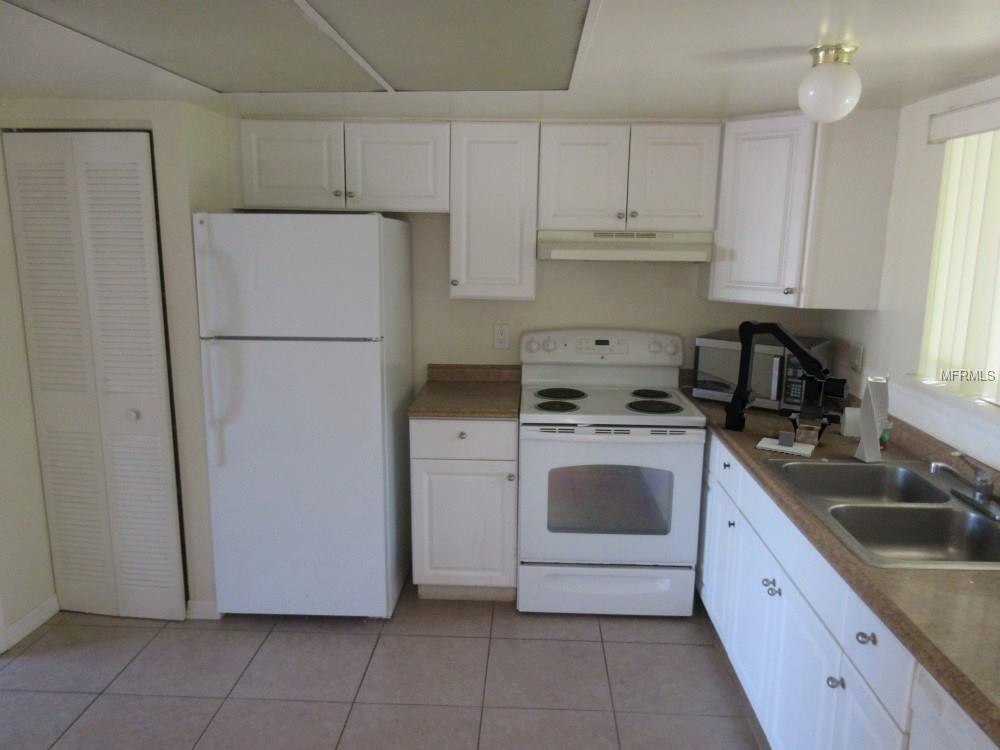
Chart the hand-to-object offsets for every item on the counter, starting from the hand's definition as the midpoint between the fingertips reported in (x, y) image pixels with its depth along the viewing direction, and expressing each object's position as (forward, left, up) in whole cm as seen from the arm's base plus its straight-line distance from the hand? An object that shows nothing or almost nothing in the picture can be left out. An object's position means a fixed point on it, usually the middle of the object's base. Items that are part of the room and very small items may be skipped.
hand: (807, 439), depth 225 cm
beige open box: (0, 0, -1) cm, 1 cm away
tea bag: (+12, +20, -2) cm, 23 cm away
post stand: (-5, -12, -1) cm, 13 cm away
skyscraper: (+19, -10, -1) cm, 22 cm away
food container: (+21, +8, -2) cm, 23 cm away
